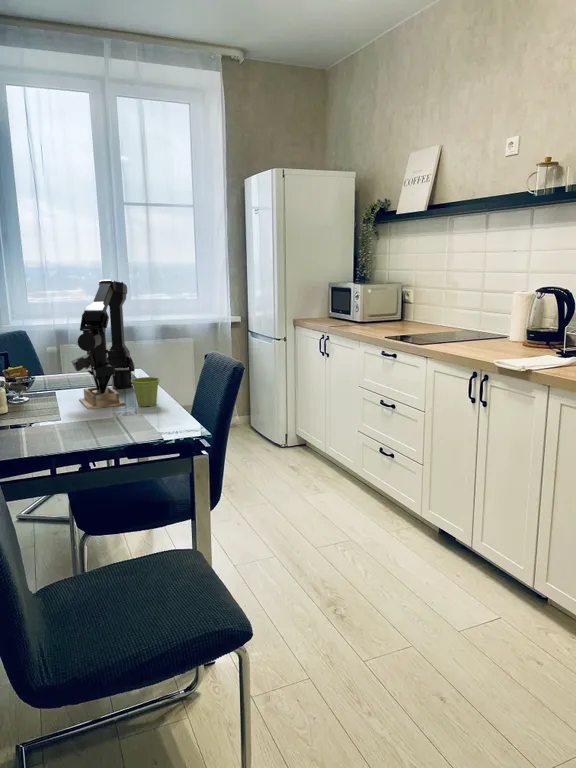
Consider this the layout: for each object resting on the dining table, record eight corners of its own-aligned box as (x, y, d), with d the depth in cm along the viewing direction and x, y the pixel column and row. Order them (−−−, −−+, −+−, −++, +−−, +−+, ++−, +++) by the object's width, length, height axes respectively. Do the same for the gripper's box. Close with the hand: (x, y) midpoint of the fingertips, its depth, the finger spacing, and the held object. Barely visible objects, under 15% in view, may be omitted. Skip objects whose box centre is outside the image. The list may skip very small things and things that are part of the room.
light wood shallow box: (113, 396, 209) (113, 385, 208) (125, 404, 196) (124, 392, 196) (78, 400, 203) (78, 389, 202) (88, 409, 190) (87, 397, 190)
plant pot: (126, 406, 194) (124, 380, 192) (145, 400, 202) (144, 375, 200) (148, 409, 189) (146, 383, 188) (167, 403, 197) (165, 378, 196)
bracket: (105, 395, 202) (104, 375, 201) (108, 397, 199) (107, 376, 197) (92, 396, 200) (90, 376, 198) (94, 398, 196) (93, 378, 195)
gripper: (67, 345, 200) (70, 390, 203) (78, 352, 184) (82, 400, 187) (100, 343, 205) (103, 386, 209) (113, 349, 190) (117, 396, 193)
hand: (101, 392), depth 199 cm, fingers closed on bracket, 4 cm apart
